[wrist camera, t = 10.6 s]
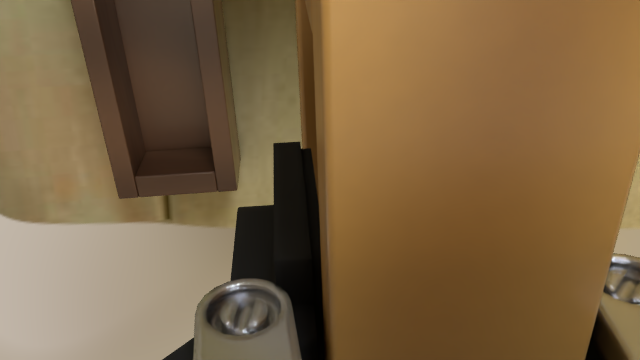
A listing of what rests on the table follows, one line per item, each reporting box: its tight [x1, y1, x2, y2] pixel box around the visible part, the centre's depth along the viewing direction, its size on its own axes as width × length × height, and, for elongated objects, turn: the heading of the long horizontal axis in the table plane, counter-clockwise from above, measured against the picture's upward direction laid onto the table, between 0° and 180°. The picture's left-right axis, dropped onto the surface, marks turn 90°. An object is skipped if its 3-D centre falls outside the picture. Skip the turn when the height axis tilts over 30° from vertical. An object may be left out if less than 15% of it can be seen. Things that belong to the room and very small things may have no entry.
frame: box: [295, 0, 640, 360], centre depth 11 cm, size 3×12×9 cm, turn 2°
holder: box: [71, 0, 241, 199], centre depth 27 cm, size 15×6×4 cm, turn 2°
